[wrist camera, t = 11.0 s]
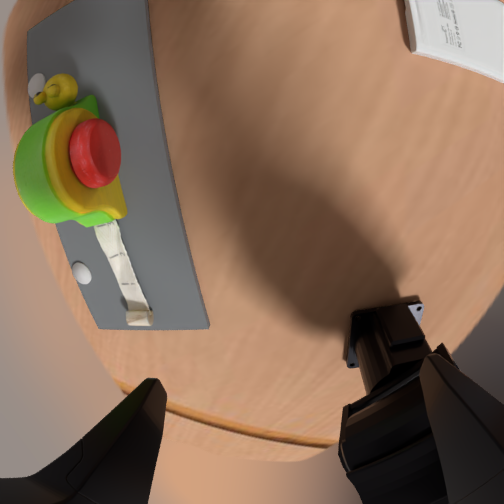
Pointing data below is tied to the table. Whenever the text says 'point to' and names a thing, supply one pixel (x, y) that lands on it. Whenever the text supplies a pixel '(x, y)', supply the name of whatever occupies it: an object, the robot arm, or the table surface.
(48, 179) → the toy measuring tape
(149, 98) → the marked mat
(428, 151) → the table surface
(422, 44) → the external hard drive
